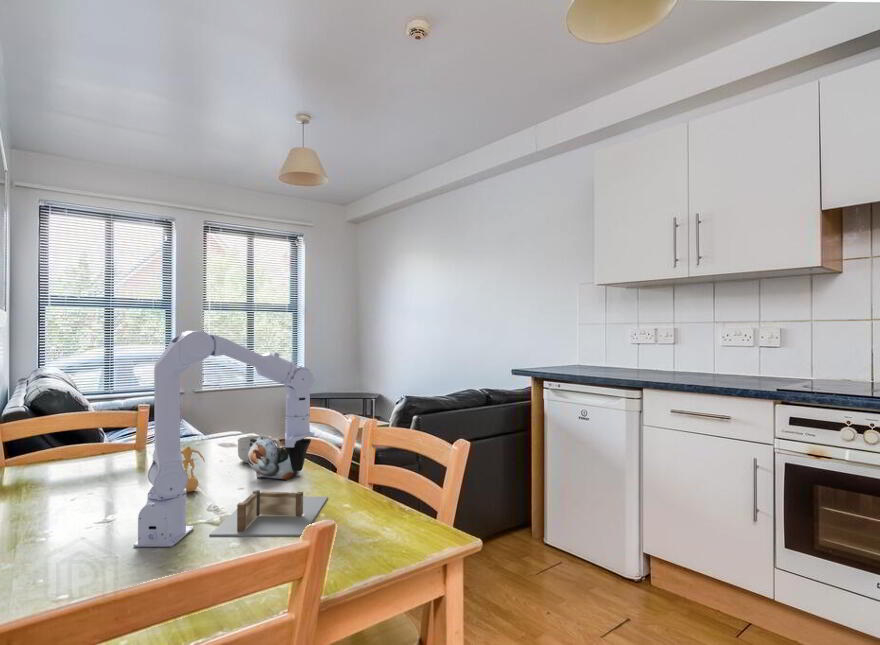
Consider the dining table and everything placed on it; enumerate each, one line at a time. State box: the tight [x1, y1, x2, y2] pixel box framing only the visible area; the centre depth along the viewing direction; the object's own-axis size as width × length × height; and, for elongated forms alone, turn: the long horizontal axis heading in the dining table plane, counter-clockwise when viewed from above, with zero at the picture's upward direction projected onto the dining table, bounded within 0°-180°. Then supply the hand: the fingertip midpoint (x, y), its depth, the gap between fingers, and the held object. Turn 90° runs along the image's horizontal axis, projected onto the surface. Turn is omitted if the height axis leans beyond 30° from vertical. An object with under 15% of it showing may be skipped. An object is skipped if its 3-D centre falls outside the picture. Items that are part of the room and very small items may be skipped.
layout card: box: [208, 496, 329, 537], centre depth 119 cm, size 24×20×1 cm
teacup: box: [237, 434, 281, 464], centre depth 167 cm, size 14×11×8 cm
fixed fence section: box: [236, 489, 261, 532], centre depth 114 cm, size 10×2×6 cm, turn 0°
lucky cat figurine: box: [248, 437, 300, 481], centre depth 150 cm, size 15×12×14 cm
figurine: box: [181, 445, 206, 493], centre depth 137 cm, size 8×6×12 cm
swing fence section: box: [260, 491, 304, 517], centre depth 117 cm, size 10×1×5 cm, turn 84°
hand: (297, 470), depth 124 cm, fingers closed
